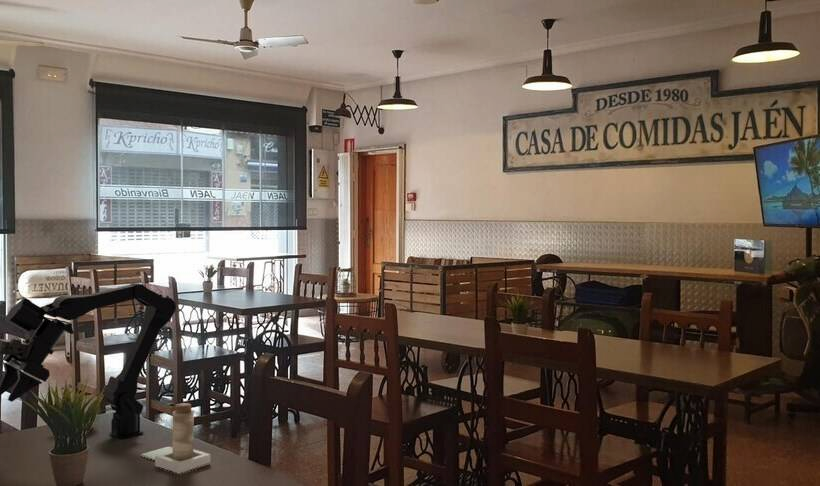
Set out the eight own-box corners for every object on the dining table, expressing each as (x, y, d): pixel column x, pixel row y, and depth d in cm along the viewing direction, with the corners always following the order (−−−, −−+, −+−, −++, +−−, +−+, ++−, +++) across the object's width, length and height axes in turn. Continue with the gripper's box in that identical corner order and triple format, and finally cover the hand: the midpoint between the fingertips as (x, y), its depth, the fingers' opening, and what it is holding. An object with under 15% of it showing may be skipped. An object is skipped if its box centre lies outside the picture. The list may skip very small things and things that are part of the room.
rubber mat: (168, 448, 187) (168, 446, 187) (188, 455, 182) (188, 452, 182) (141, 456, 180) (141, 454, 180) (160, 463, 176) (160, 460, 176)
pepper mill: (184, 461, 178) (185, 401, 177) (197, 465, 175) (198, 404, 174) (168, 466, 174) (168, 405, 173) (180, 470, 171) (181, 408, 170)
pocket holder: (186, 456, 181) (186, 447, 180) (210, 464, 175) (210, 454, 175) (155, 466, 173) (155, 456, 173) (178, 474, 168) (178, 464, 168)
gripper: (3, 320, 185) (-37, 375, 179) (25, 329, 171) (-17, 389, 166) (42, 341, 191) (5, 395, 186) (66, 352, 178) (27, 410, 172)
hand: (4, 397), depth 177 cm, fingers open, 9 cm apart
